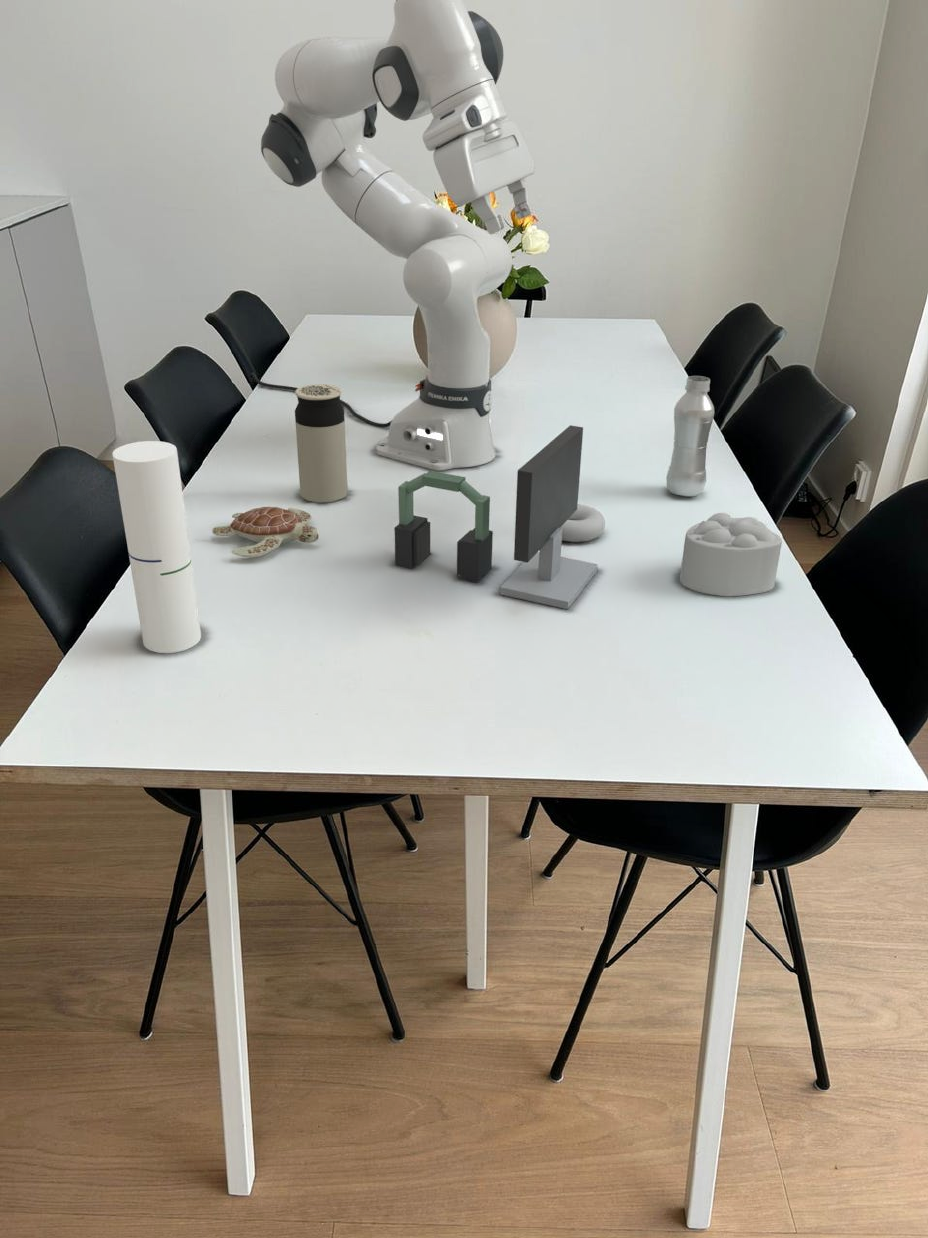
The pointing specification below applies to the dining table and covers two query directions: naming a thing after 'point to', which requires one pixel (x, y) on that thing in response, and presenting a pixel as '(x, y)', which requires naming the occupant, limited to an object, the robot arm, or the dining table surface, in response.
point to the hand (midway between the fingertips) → (511, 224)
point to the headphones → (416, 529)
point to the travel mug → (321, 443)
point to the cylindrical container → (158, 544)
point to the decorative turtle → (269, 529)
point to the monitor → (548, 525)
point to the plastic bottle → (691, 438)
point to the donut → (583, 525)
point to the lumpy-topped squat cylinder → (730, 556)
